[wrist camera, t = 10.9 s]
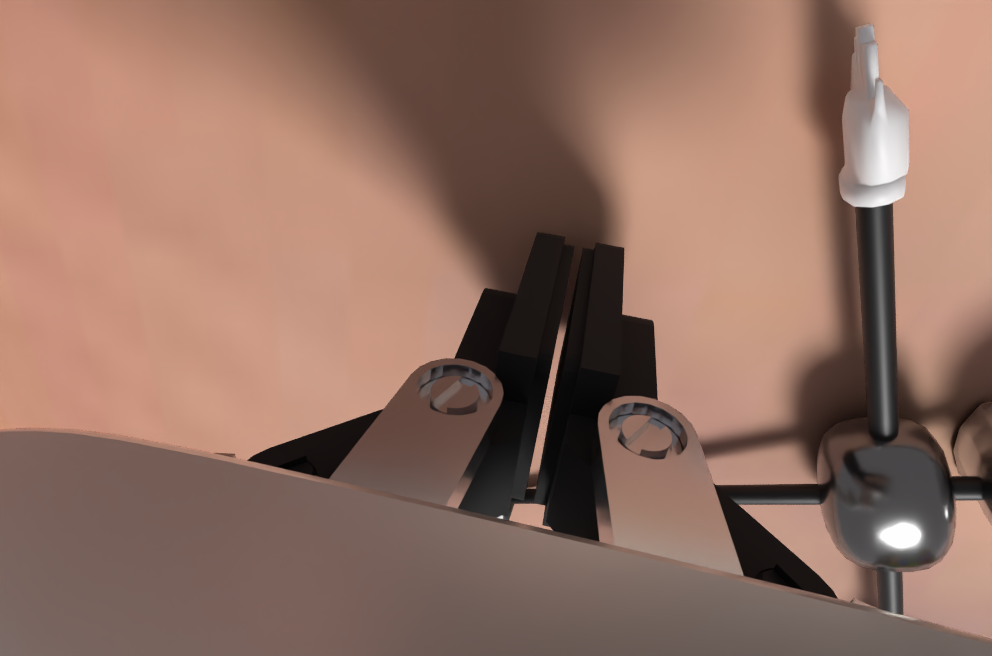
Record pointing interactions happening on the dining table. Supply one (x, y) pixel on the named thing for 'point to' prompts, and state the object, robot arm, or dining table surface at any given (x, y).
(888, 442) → the robot toy
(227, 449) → the dining table surface
